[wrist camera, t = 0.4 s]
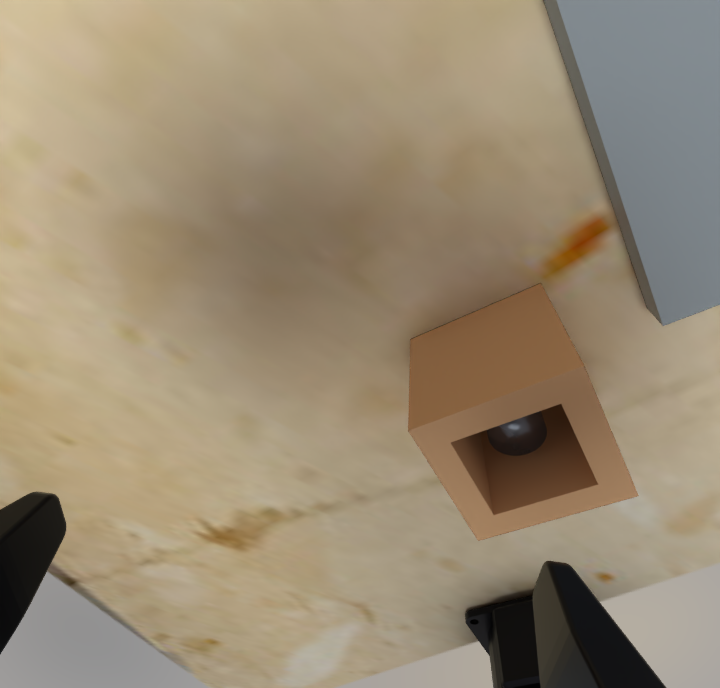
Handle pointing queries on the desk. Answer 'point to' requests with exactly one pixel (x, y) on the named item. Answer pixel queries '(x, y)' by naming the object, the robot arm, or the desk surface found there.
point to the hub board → (654, 135)
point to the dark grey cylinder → (519, 435)
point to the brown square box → (512, 417)
